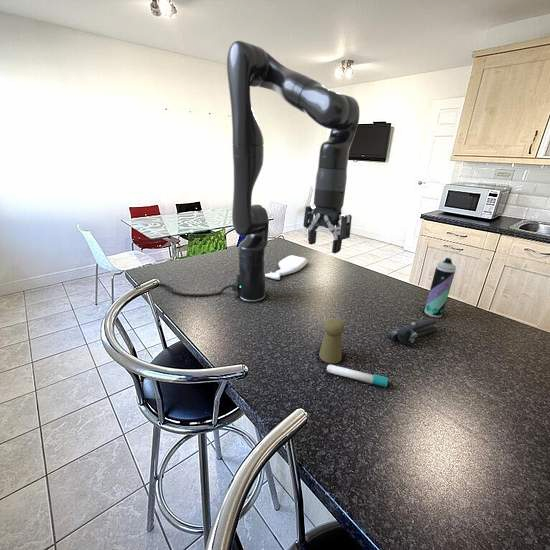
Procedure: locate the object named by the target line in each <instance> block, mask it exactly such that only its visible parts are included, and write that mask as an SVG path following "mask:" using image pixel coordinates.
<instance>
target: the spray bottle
mask: <svg viewBox="0 0 550 550" xmlns="http://www.w3.org/2000/svg"><path fill="white" fill-rule="evenodd" d="M307 264H308V260H307V258H306V257H302V256H297V255H293V254H291V255H288V256H286V257H284V258H282V259H281V260H280V261H279V262H278V267H279V269H278V270H276V271H275V272H272V271H270V272H269V273H265V278H269V279H273V280H279V281H280V280H281V277H283V276H287V275H290V274H294V273H296V272H298V271H300V270H302V268H304V267H306V265H307Z"/></svg>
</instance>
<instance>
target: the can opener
mask: <svg viewBox="0 0 550 550" xmlns="http://www.w3.org/2000/svg"><path fill="white" fill-rule="evenodd" d="M437 323H438V320H437V319H435V318H429V319H422V320H419V321H415V322H414V321H413V322H411V323H410V324H408V325H407V324H406V325H405V326H403V327H400V328H394V329H392V330H390V331H389V332H388V334H387V336H388V338H390V339H392V340H393V341H399V342H400V343H401V344H402V345H403V344H404V345H408V346H413V345H414V344H415V340H416V339H417V338H419V337H421V336H425V335H428V334H431V333H433V332H435V331H436V330H437V328H436V327H435V326H434V325H436V324H437Z"/></svg>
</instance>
